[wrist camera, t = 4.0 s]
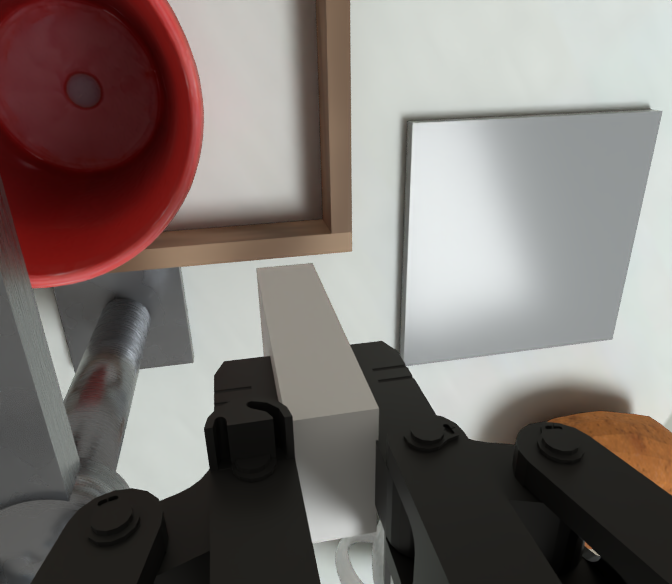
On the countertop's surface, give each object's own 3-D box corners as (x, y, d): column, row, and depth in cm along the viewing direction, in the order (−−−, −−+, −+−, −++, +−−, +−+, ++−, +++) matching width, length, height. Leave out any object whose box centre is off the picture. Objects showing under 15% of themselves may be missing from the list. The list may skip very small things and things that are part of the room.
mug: (304, 549, 38) (329, 690, 30) (345, 462, 36) (385, 589, 27) (433, 564, 42) (488, 694, 33) (479, 486, 39) (551, 605, 31)
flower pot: (257, 100, 26) (279, 127, 17) (94, 252, 27) (37, 350, 18) (68, -120, 21) (-35, -239, 12) (-117, 76, 22) (-328, 95, 14)
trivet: (399, 359, 33) (403, 366, 32) (407, 121, 27) (412, 123, 27) (604, 333, 36) (612, 339, 35) (651, 109, 30) (662, 111, 29)
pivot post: (79, 368, 29) (-10, 581, 18) (53, 264, 27) (-72, 433, 15) (193, 355, 30) (180, 547, 19) (178, 254, 28) (153, 403, 16)
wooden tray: (-145, 276, 25) (-181, 299, 23) (-321, -139, 19) (-393, -164, 16) (341, 235, 29) (351, 251, 27) (335, -118, 23) (348, -136, 20)
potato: (593, 499, 42) (664, 584, 36) (471, 482, 39) (524, 573, 32) (654, 402, 39) (745, 475, 33) (528, 374, 36) (600, 449, 29)
